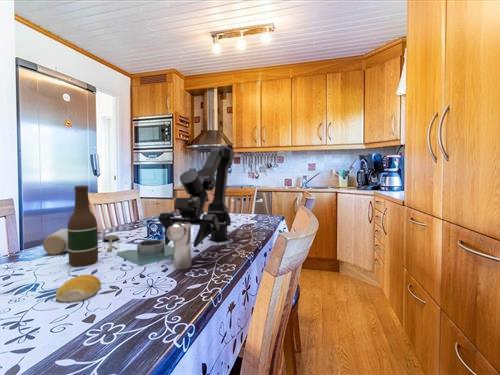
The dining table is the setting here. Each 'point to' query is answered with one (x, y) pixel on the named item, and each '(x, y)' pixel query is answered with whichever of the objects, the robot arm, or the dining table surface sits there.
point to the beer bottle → (82, 231)
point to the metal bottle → (181, 244)
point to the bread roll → (78, 288)
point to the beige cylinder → (56, 242)
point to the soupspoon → (110, 241)
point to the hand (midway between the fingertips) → (180, 245)
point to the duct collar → (148, 252)
